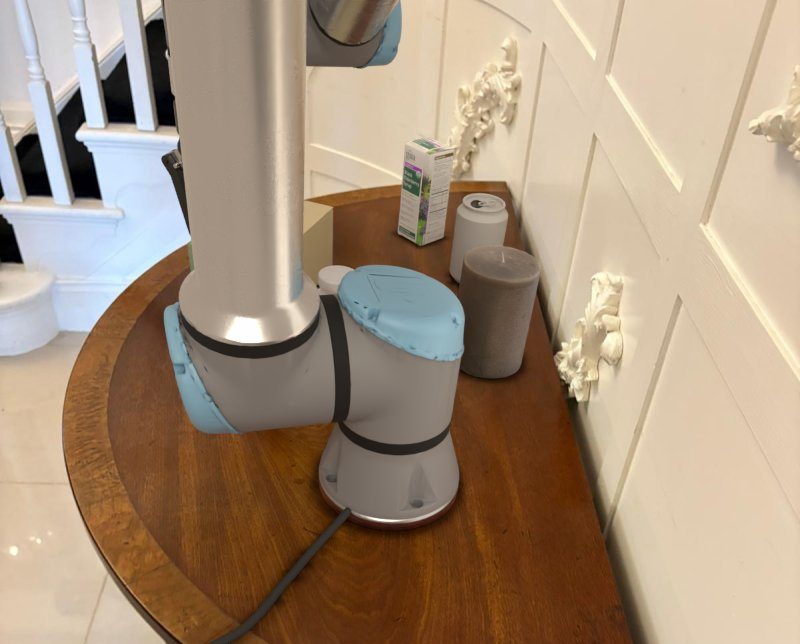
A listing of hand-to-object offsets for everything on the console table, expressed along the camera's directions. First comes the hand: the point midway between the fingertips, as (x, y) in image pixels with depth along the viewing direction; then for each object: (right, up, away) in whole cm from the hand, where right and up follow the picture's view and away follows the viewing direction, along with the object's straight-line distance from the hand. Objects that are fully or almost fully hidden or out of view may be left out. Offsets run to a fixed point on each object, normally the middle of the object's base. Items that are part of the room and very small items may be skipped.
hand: (224, 291), depth 104 cm
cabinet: (+4, +5, +12) cm, 14 cm away
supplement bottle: (+15, -11, -3) cm, 19 cm away
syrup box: (+27, +17, +26) cm, 41 cm away
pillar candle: (+35, -9, +1) cm, 36 cm away
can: (+35, +7, +17) cm, 39 cm away
